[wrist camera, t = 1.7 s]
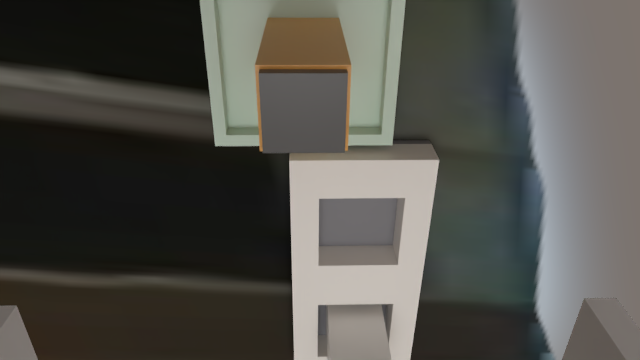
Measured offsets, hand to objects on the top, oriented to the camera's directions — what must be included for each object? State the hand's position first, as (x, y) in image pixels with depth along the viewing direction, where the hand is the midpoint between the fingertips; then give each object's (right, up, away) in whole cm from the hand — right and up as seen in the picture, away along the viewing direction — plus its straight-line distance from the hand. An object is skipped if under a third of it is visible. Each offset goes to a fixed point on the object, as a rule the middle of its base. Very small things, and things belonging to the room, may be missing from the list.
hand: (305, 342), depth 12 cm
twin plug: (+3, -7, +32) cm, 33 cm away
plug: (-1, +12, +20) cm, 23 cm away
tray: (-1, +12, +21) cm, 24 cm away
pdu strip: (+3, -3, +30) cm, 30 cm away
